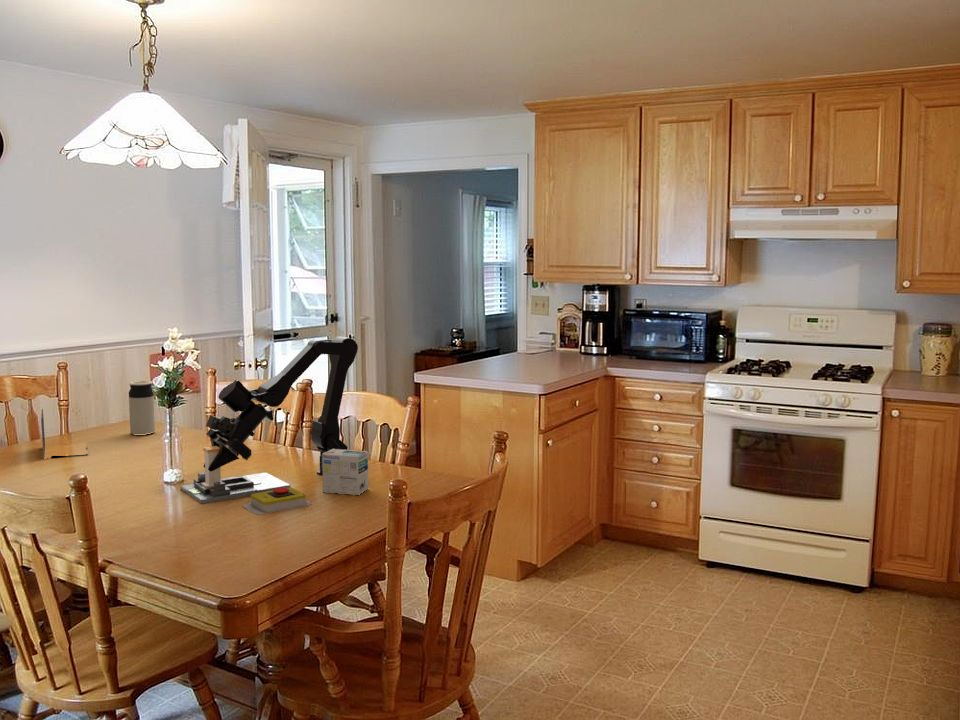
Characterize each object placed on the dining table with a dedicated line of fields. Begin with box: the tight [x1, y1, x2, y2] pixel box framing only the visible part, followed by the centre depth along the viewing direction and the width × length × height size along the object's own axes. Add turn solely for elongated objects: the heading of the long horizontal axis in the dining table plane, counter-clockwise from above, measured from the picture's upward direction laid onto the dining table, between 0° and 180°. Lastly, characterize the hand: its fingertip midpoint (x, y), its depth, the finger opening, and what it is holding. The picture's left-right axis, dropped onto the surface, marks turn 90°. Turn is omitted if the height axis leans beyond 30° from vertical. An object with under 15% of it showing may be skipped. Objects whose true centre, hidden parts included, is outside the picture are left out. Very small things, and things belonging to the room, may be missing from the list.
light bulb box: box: [322, 449, 370, 496], centre depth 225 cm, size 11×7×11 cm, turn 74°
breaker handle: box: [201, 446, 222, 488], centre depth 222 cm, size 5×4×11 cm
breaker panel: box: [180, 471, 291, 505], centre depth 226 cm, size 24×16×4 cm, turn 127°
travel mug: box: [128, 380, 156, 435], centre depth 293 cm, size 8×8×18 cm
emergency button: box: [242, 486, 312, 516], centre depth 212 cm, size 9×4×15 cm
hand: (207, 469), depth 221 cm, fingers open, 3 cm apart
